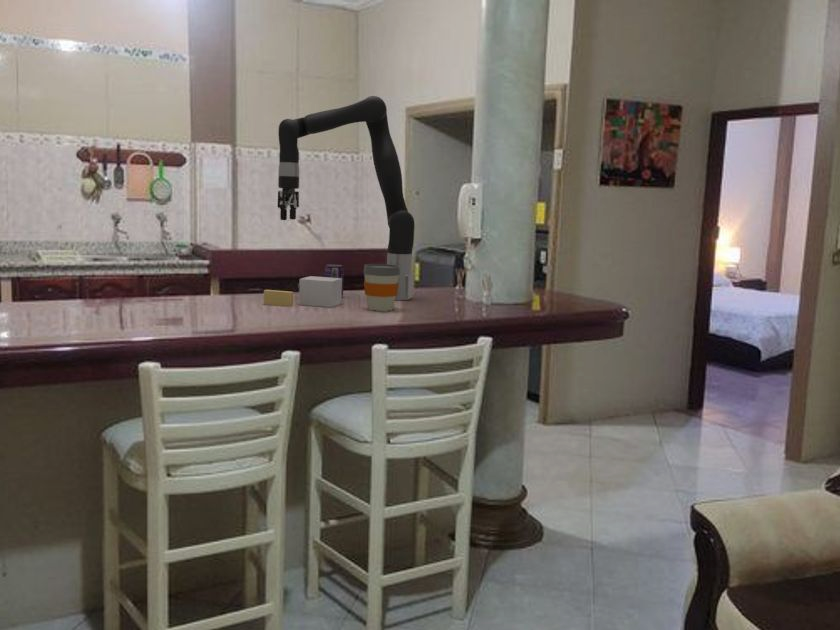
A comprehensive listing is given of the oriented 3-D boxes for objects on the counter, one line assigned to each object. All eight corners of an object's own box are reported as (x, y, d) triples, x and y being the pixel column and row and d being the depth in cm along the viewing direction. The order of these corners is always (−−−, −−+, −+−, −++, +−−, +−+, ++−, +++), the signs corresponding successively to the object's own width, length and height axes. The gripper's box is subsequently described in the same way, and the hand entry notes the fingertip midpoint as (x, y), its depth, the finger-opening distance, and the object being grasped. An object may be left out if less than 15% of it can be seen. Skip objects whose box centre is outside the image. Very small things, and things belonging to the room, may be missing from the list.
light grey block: (341, 303, 281) (342, 278, 280) (331, 307, 272) (332, 281, 270) (308, 300, 284) (308, 276, 283) (297, 304, 275) (297, 278, 273)
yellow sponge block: (292, 306, 272) (293, 291, 271) (290, 307, 270) (290, 292, 269) (266, 303, 274) (266, 289, 273) (263, 304, 272) (263, 290, 271)
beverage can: (346, 297, 298) (347, 265, 296) (335, 298, 292) (335, 266, 290) (332, 295, 301) (332, 263, 299) (320, 296, 295) (320, 264, 293)
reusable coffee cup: (398, 312, 267) (399, 268, 264) (361, 311, 267) (362, 266, 264) (398, 306, 279) (400, 264, 277) (363, 305, 279) (364, 263, 277)
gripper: (290, 175, 282) (290, 220, 284) (305, 176, 295) (304, 219, 298) (271, 174, 283) (270, 219, 286) (287, 175, 297) (286, 218, 300)
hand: (288, 219), depth 292 cm, fingers open, 8 cm apart
